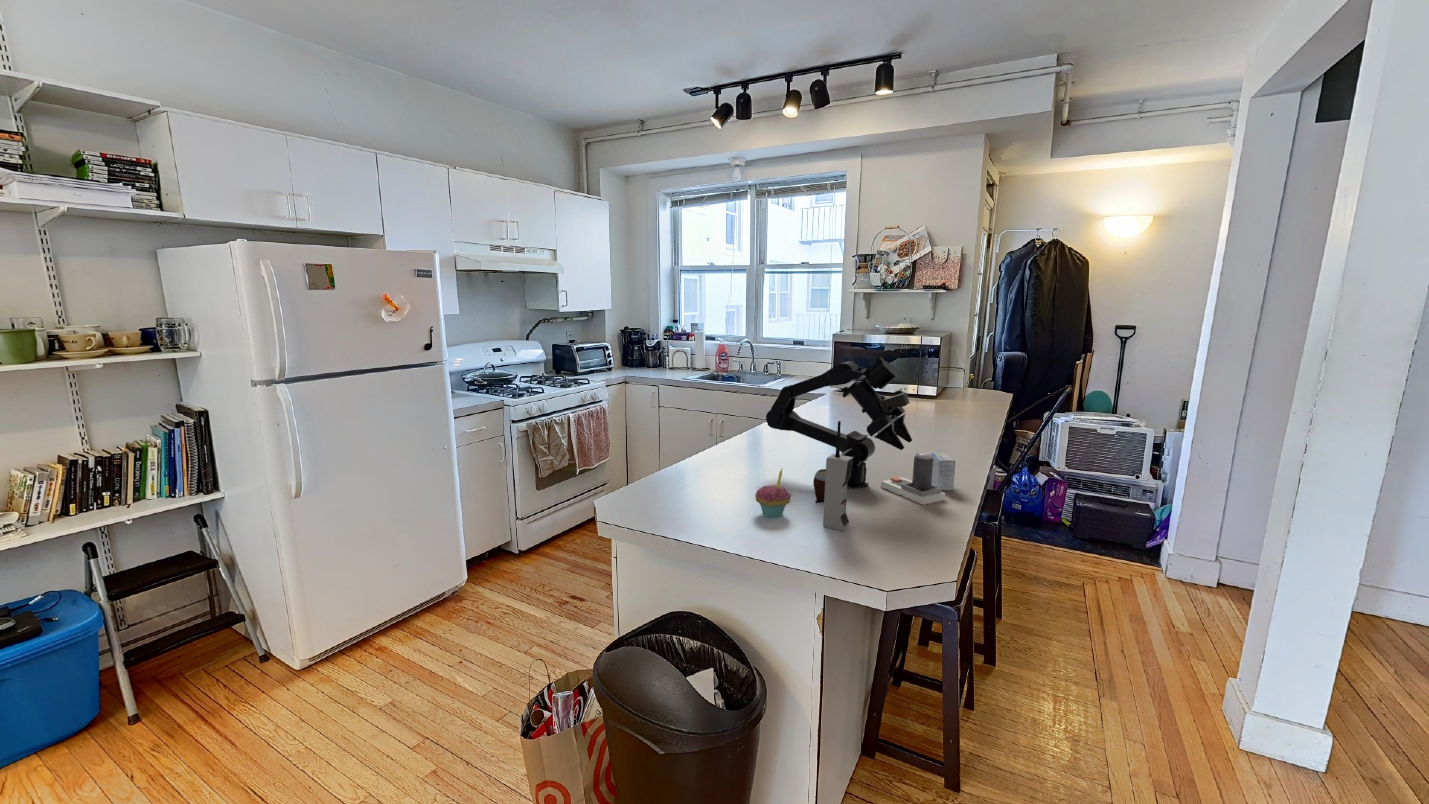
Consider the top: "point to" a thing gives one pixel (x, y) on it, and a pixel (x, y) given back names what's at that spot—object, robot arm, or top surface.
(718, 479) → the top surface
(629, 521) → the top surface
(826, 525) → the vintage mobile phone
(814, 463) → the top surface
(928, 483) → the grey cylinder
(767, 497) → the cupcake
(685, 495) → the top surface
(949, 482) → the medicine box
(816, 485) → the mate gourd
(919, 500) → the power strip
